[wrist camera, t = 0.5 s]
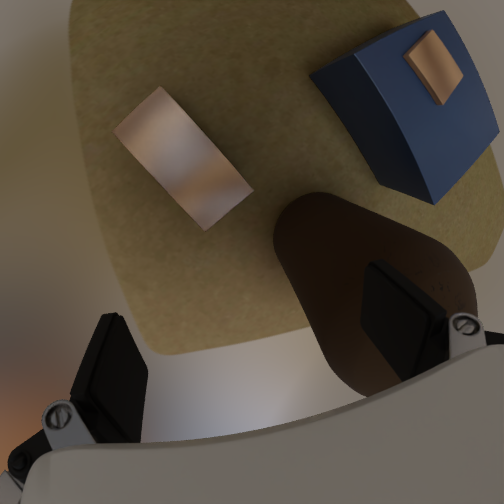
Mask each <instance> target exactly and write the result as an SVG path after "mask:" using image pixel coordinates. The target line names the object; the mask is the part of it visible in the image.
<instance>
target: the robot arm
mask: <svg viewBox="0 0 504 504" xmlns="http://www.w3.org/2000/svg"><path fill="white" fill-rule="evenodd" d="M446 314H447V310H445V309H444V308H443V307H442V306H441V305H440V304H438V303H437V302H436V301H435V300H434V299H433V298H431V297H430V296H429V295H428V294H427V293H425V292H424V291H423V290H422V289H420V288H419V287H418V286H417V285H416V284H414V283H413V282H412V281H411V280H409V279H408V278H407V277H406V276H404V275H403V274H402V273H401V272H399V271H398V270H397V269H395V268H394V267H393V266H392V265H390V264H389V263H388V262H386V261H385V260H384V259H378V260H374V261H370V262H369V263H368V265H367V266H366V267H365V269H364V282H363V296H362V307H361V317H360V324H361V327H362V329H363V331H364V332H365V333H366V334H367V336H368V337H369V338H370V340H371V341H372V342H373V344H374V345H375V346H376V348H377V349H378V350H379V352H380V353H381V354H382V355H383V357H384V358H385V359H386V361H387V362H388V364H389V365H390V366H391V368H392V369H393V370H394V372H395V373H396V374H397V376H398V377H399V378H400V380H401V381H402V383H400V384H398V385H396V386H393V387H391V388H389V389H386V390H384V391H382V392H379V393H377V394H374V395H372V396H369V397H367V398H364V399H362V400H359V401H356V402H353V403H351V404H348V405H345V406H342V407H339V408H336V409H333V410H330V411H327V412H324V413H321V414H317V415H314V416H311V417H307V418H304V419H301V420H296V421H293V422H289V423H285V424H281V425H276V426H272V427H268V428H263V429H258V430H253V431H248V432H243V433H238V434H231V435H225V436H218V437H211V438H203V439H194V440H184V441H170V442H153V443H140V441H141V430H142V420H143V411H144V402H145V394H146V386H147V380H148V369H147V366H146V364H145V362H144V360H143V358H142V356H141V354H140V352H139V350H138V348H137V346H136V344H135V342H134V339H133V337H132V335H131V333H130V331H129V329H128V326H127V324H126V322H125V320H124V318H123V316H121V315H120V316H119V315H118V313H116V312H115V313H108V314H103V315H102V316H101V318H100V320H99V322H98V325H97V327H96V329H95V331H94V334H93V336H92V338H91V340H90V343H89V345H88V348H87V350H86V353H85V355H84V357H83V360H82V363H81V365H80V367H79V370H78V372H77V375H76V378H75V381H74V383H73V386H72V389H71V392H70V395H71V398H70V401H68V400H63V399H62V400H57V401H55V402H53V403H51V404H50V405H49V406H48V407H47V408H46V409H45V411H44V412H43V415H42V426H43V429H42V430H40V431H39V432H38V433H36V434H35V435H33V436H32V437H31V438H29V439H28V440H27V441H25V442H24V443H22V444H21V445H19V446H18V447H16V448H15V449H14V450H13V451H12V452H11V454H10V455H9V458H8V469H9V471H8V472H7V471H6V470H4V471H3V473H2V474H1V475H0V504H504V334H502V333H496V332H489V331H484V328H483V324H482V322H481V321H480V320H479V319H478V318H477V317H476V316H474V315H472V314H470V313H465V312H459V313H455V314H453V315H452V316H451V317H450V318H449V319H448V318H447V317H446Z"/></svg>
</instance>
